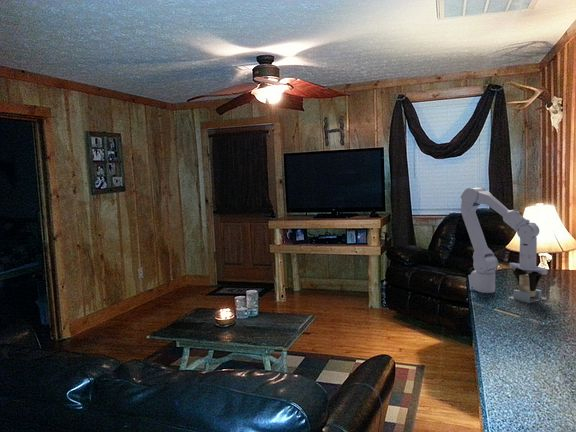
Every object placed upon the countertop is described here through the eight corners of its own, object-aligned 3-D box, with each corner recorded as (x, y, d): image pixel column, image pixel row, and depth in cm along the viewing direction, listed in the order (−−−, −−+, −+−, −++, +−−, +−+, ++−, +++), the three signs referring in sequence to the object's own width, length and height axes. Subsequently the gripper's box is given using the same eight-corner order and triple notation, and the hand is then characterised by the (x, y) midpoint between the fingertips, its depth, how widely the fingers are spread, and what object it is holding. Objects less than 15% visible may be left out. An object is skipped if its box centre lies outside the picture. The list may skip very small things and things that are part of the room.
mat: (494, 310, 164) (494, 309, 164) (519, 304, 171) (519, 303, 171) (518, 317, 155) (518, 316, 155) (545, 311, 162) (545, 310, 162)
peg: (519, 295, 176) (519, 275, 175) (525, 293, 178) (526, 273, 177) (528, 297, 173) (528, 277, 172) (535, 296, 174) (535, 275, 174)
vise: (507, 299, 177) (507, 289, 177) (526, 295, 182) (526, 285, 182) (528, 305, 169) (528, 294, 169) (547, 300, 174) (547, 290, 173)
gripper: (504, 253, 178) (503, 287, 180) (538, 258, 166) (538, 295, 167) (516, 251, 182) (515, 284, 183) (551, 256, 169) (550, 292, 170)
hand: (527, 289), depth 175 cm, fingers closed on peg, 4 cm apart
